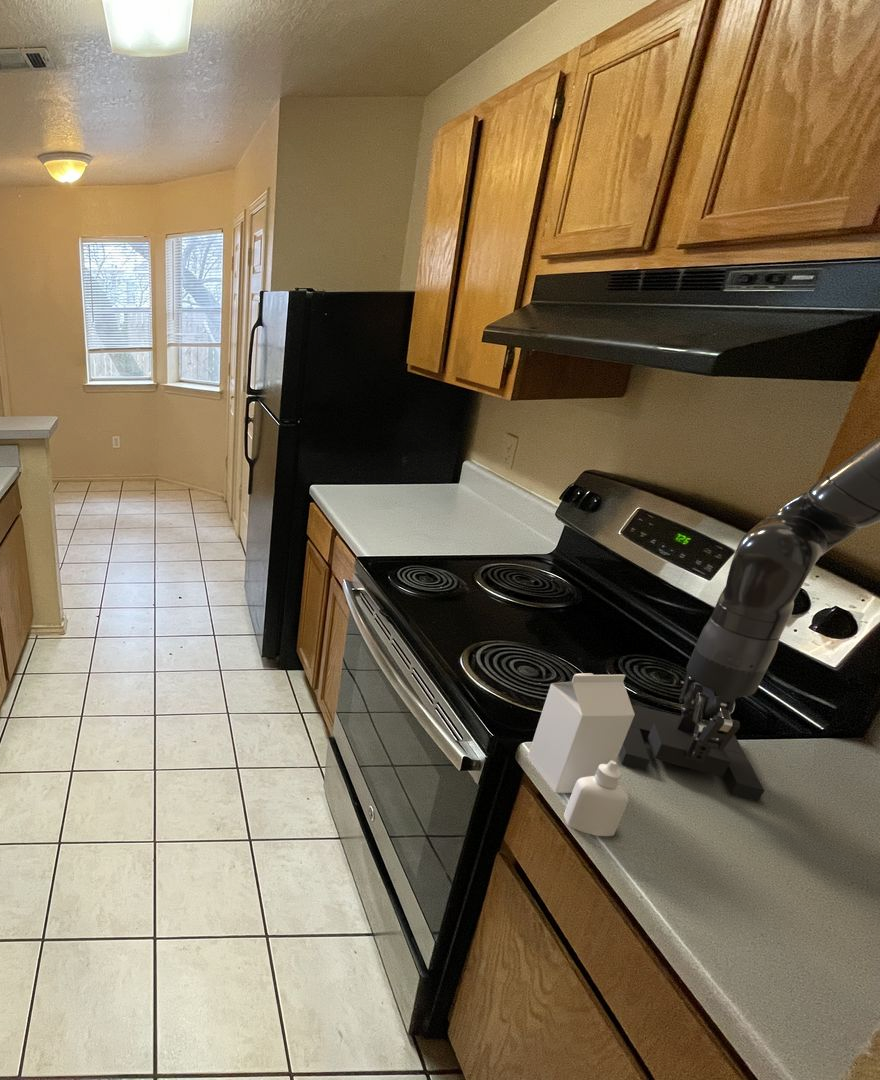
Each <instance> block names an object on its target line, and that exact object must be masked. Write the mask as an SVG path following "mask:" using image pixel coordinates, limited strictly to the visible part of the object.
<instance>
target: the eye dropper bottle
mask: <svg viewBox="0 0 880 1080" xmlns="http://www.w3.org/2000/svg"><path fill="white" fill-rule="evenodd" d="M621 777H622V773H621V771H620V770H619V769H618V768H617V761H616V762H615V761H612V760H611V761H610V762H609V763H608V764H600V765H599V767H598V769H597V772H596V774H595V776H589V777H583V778H580V779H578V780H577V782H576V784H575V786H574V789H573V791H572V793H570V797H569V799H568V801H567V805H566V807H565V811H564V812H563V818H564V820H565V823H566V825H567V826H568V827H570V828H572V829H574V830H577V831H579V832H582V833H585V834H588V835H593V836H598V837H612V836H615V833H616V831H617V829H618V826H619V824H620V822H621V820H622V817H623V815H624V812H625V810H626V807H627V805H628V801H629V795H628V793H627V791H626V788H624V786H622V785H621V784H619V782H620V780H621Z"/></svg>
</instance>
